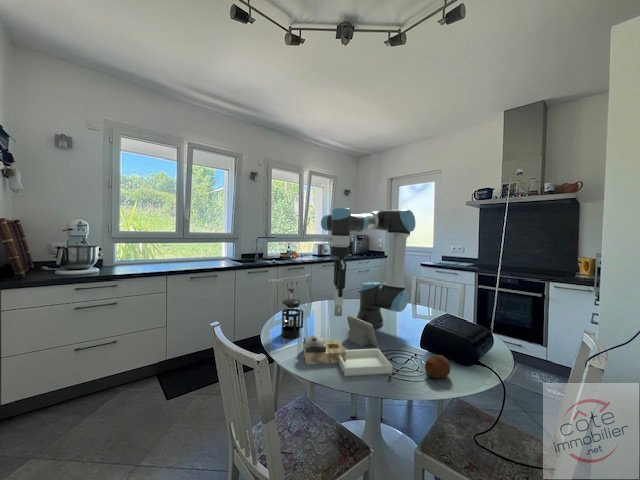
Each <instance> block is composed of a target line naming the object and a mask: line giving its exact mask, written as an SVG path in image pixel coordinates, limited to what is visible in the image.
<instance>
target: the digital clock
mask: <svg viewBox="0 0 640 480" xmlns="http://www.w3.org/2000/svg"><path fill="white" fill-rule="evenodd" d="M346 320H347V323H348V327H349V330H348V341H349V342H353V343H355V344H356V345H358V346H360V347H364V346H368V345H370V346H376V345H378V344H377V337H376V333H375V330H374V328H373V325H372V324H370V323H368V322H365V321H363V320H360V319H358V318H356V317H355V316H353V315H347V319H346Z"/></svg>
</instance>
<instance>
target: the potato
mask: <svg viewBox="0 0 640 480" xmlns="http://www.w3.org/2000/svg"><path fill="white" fill-rule="evenodd" d="M424 369H425V372H426V374H427V375H428V376H429V377H431V378H433V379H441V378H445V377H447V376H448V375H450V373H451V366H450V362H449V360H448V359H447V358H446V357H445V356H444V355H441V354H434V355H431V356H429V357H427V359H426V360H425V364H424Z"/></svg>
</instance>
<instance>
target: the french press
mask: <svg viewBox="0 0 640 480" xmlns="http://www.w3.org/2000/svg"><path fill="white" fill-rule="evenodd" d="M287 291H288V292H290V294H291V295H290V298H288V299H284V300H282V301H281V302H282V304H283V305H285V306H286V307H287V308H285V309H282V310H281V334H280V336H281V338H282V339H286V340H295V339H298V338H300V337H301V331H300V330H301V329H303V328H304V309H298V308H299V307H300V304H301V300H299V299H297V298H296V299H295V298H293V292H295V291H297V289H296V288H288V289H287ZM292 312H296V313H292ZM290 318H292V319H290Z"/></svg>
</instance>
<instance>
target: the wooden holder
mask: <svg viewBox="0 0 640 480" xmlns="http://www.w3.org/2000/svg"><path fill="white" fill-rule="evenodd" d="M302 343H303V344H302V352H303V356H304V363H305V365H321V364H339V355H341V357H342V358H343V360H344V361H346V351H345V350H346V349H345V347H344V346H343V344H342V343H341V341H340V339H327V340H326V339H324V338H323V337H321V336H319V335H309V336H307V337H303V341H302Z"/></svg>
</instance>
